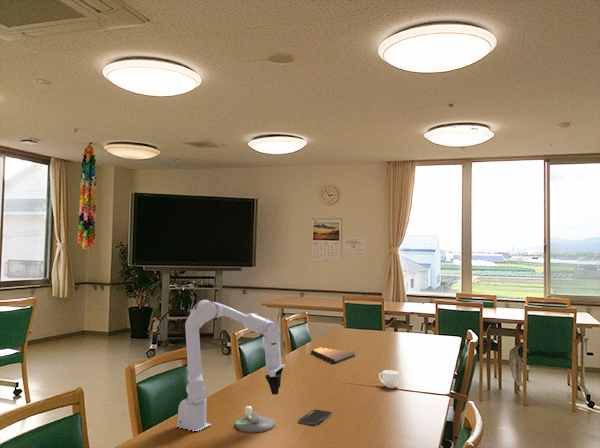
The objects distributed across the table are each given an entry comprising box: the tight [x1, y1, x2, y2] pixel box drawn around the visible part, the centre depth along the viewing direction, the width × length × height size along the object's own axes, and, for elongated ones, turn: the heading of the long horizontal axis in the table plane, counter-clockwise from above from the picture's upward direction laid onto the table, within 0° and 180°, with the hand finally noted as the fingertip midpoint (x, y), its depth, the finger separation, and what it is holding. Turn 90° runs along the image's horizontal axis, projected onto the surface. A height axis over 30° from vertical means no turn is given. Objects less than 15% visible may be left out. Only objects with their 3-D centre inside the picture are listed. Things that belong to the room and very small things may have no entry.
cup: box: [378, 369, 401, 389], centre depth 233 cm, size 8×10×7 cm
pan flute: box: [310, 346, 356, 365], centre depth 294 cm, size 25×3×25 cm
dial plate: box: [234, 415, 276, 433], centre depth 178 cm, size 14×14×1 cm
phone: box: [298, 409, 333, 426], centre depth 187 cm, size 8×1×15 cm
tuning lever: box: [244, 405, 260, 423], centre depth 181 cm, size 8×3×4 cm, turn 31°
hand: (276, 390), depth 186 cm, fingers open, 7 cm apart
